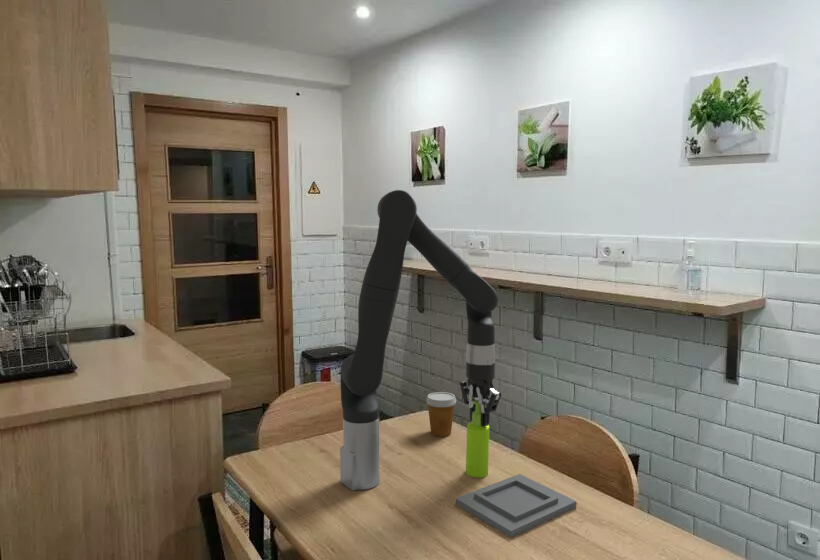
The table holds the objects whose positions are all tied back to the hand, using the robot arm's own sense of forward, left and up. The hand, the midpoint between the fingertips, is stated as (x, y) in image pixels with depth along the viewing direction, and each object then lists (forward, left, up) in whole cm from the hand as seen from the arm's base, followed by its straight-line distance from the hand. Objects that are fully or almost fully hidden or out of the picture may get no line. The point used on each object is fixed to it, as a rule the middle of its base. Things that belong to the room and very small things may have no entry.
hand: (479, 423), depth 155 cm
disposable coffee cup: (+10, +28, -14) cm, 33 cm away
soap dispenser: (0, 0, -14) cm, 14 cm away
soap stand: (-5, -18, -14) cm, 23 cm away
